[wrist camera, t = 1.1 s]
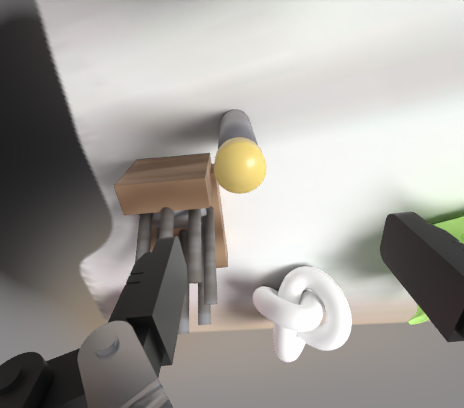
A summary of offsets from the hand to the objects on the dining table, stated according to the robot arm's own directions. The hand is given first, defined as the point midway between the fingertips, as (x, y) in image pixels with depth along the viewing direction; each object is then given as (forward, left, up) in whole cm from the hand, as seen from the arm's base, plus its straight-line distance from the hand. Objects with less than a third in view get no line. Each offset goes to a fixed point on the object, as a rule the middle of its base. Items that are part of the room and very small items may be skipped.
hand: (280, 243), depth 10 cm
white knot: (+24, +6, -19) cm, 31 cm away
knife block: (+10, -8, -19) cm, 23 cm away
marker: (0, -1, -19) cm, 19 cm away
